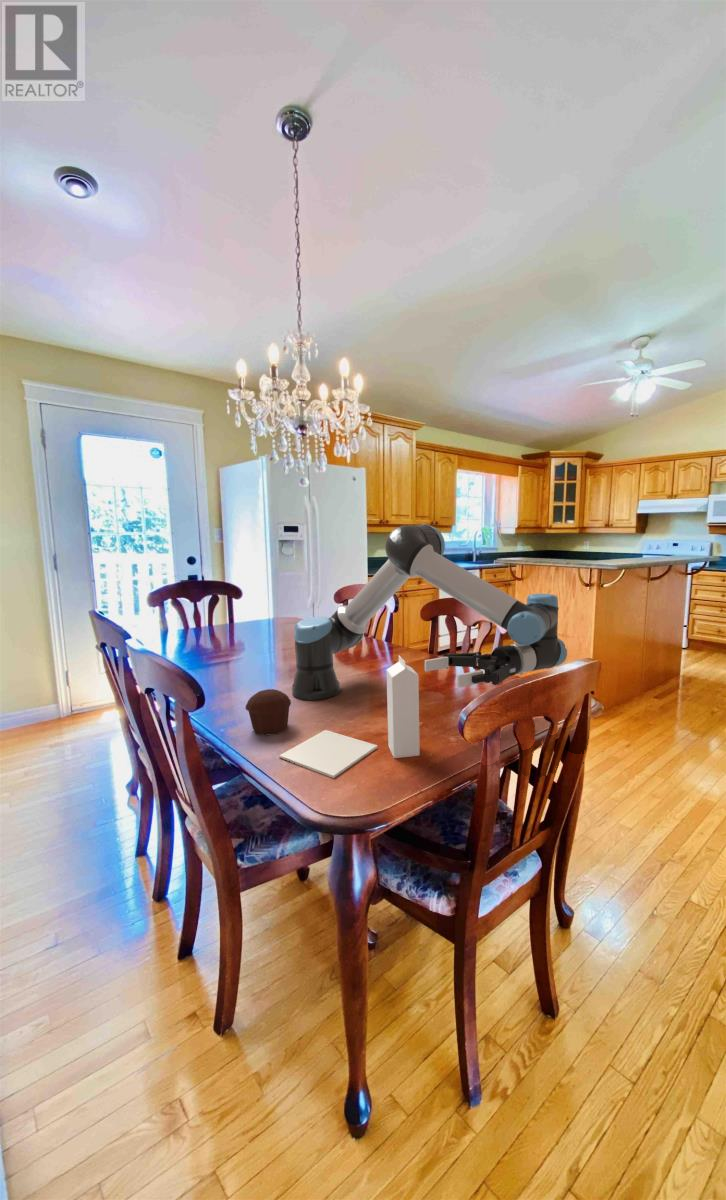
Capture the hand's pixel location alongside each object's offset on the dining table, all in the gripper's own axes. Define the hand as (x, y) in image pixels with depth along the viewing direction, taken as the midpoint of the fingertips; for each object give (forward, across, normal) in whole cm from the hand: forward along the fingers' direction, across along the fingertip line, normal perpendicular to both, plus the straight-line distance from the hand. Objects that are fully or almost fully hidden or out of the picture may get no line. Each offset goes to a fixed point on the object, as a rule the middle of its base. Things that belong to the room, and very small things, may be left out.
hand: (440, 673), depth 107 cm
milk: (+10, 0, -17) cm, 20 cm away
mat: (+26, +8, -17) cm, 32 cm away
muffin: (+35, +28, -17) cm, 48 cm away
